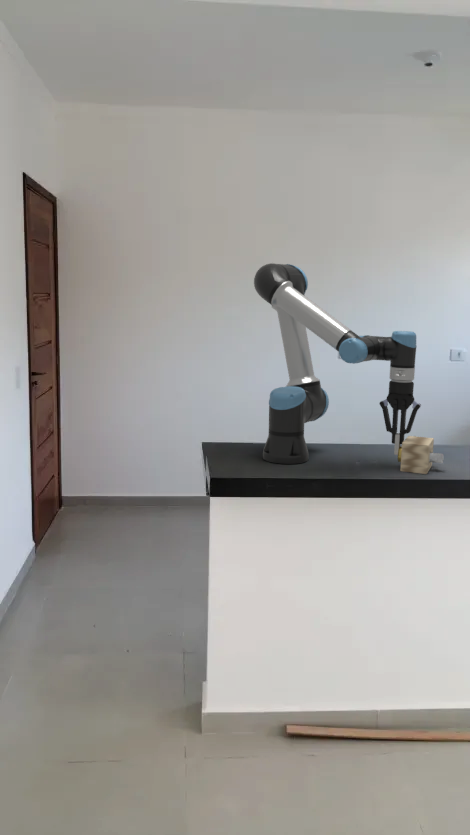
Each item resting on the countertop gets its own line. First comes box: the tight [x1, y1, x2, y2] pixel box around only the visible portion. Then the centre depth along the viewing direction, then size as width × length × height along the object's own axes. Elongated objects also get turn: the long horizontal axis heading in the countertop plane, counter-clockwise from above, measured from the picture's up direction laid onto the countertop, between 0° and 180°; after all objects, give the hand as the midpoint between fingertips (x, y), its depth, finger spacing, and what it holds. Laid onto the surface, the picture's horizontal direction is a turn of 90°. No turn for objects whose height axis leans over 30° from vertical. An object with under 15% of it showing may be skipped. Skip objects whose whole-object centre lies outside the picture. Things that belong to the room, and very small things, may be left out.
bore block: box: [400, 435, 435, 475], centre depth 220 cm, size 8×12×9 cm, turn 157°
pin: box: [397, 445, 444, 464], centre depth 220 cm, size 14×5×5 cm, turn 67°
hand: (397, 453), depth 222 cm, fingers closed
